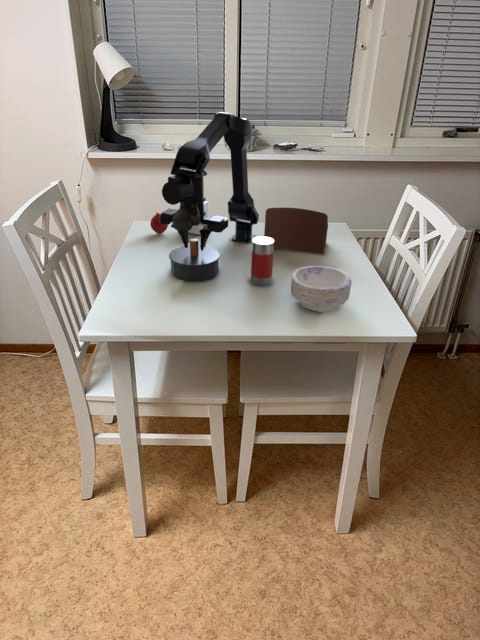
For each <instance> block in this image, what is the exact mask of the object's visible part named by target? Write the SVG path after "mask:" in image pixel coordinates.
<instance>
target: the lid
mask: <svg viewBox="0 0 480 640" xmlns="http://www.w3.org/2000/svg"><path fill="white" fill-rule="evenodd" d="M168 258H169V260H170V262H171V261H172V262H174V263H176V264H179V265H182V266H190V267H198V266H206V265H210V264H212V263H215V262H216V261H218V262H219V259H220V258H221V254H220V251H219V250H217V249H215V248H214V247H211V246H209V245H205V247H204V250H203V251H201V247H200V245H199V239H198V238H195V237H193V238H190V239H189V244H188V247H187V248H185V246H184V245H183V246H178V247H176V248H173V249H171V251H169V253H168Z"/></svg>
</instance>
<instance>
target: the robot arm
mask: <svg viewBox="0 0 480 640" xmlns="http://www.w3.org/2000/svg"><path fill="white" fill-rule="evenodd" d="M252 133H253V124H252V122H251V121H250V120H249V119H248V118H243V117H239V116H236V115H235V114H233V113H232V112H224V111H218V112H215V114H214V116H213V118H212V120H210V122H209V123H208V124H207V126H205V128H204V129H203V130H202V131H201V132H200V133H199V135H197V137H196V138H194V139H192V140H189V141H186V142H185V143H183V145H181V146H180V147H179V148H178V150H177V152H176V155H175V158H174V161H173V164H172V167H171V169H170V176H168V177H167V182H165V183H164V184H163V185H162V189H161V195H162V198H163V200H164V201H165V202H166V203H168V204H169V205H172V206H175V205H177V204H179V208H178V209H175V208H167V209H165V210H164V211H162V212H161V213H160V217H159V220H160V223H161V224H168V226H169V225H170V224H171V225H170V227H171V228H172V229H174V230H175V231H177V233H178V235H179V236H180V239H181V241H182V244H183V246H185V248H187V247H188V245H189V243H190V239H189V238H190V237H189V236H190V235H189V234H190V233H189V230H191V229H192V226H198V225H199V224H201V225H203V228H202V229H201V230H200V231H199V232H200V234H201V235H200V247H201V251H203V250H204V247H205V246H207V242H208V239H209V237H210V235H211V233H223V231H224V230H226V229H227V228H228V227H229V221H230V222H234V223H235V228H234V229H235V230H234V231H235V233H234V236H233V237H232V238H231V241H236V242H240V243H252V239H253V238H255V237H256V235H255V234H253V225H258V223H259V218H260V214H259V213H258V211H257V209H256V207H255V202H254V201H255V200H254V198H253V196H252V195H251V194H250V192H249V177H248V174H249V173H248V158H247V157H248V156H247V155H248V154H247V153H248V151H247V148H248V146H249V144H250V142H251V140H252ZM222 138H223V141H224V143H225V144H226V145H227V147H228V148H229V150H230V166H231V178H232V179H231V180H232V181H231V183H232V195H231V197H230V199H229V200H228V202H227V213H228V217H229V218H228V217H227V216H223V215H213V216H212V217H211V218H209V219H208V218H204V216H205V215H206V212H205V211H204V201H207V199H206V196H205V195H204V192H205V191H204V185H205V184H204V183H205V182H204V177H206V176H208V172H207V171H206V170H205V169H206V167H207V165H208V164H209V162H210V161H211V154H210V153H211V152H212V151H213V149H214V148H215V147H216V146H217V145H218V143H220V141H221V140H222Z"/></svg>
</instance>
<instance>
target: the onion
mask: <svg viewBox="0 0 480 640" xmlns="http://www.w3.org/2000/svg"><path fill="white" fill-rule="evenodd" d="M160 214H161V213H160V212H159V211H156V213H155V215H153V217H152V218H151V219H150V222H149V223H150V225H149V226H150V228H151V230H152V231H153V232H155V233H156V234H157V235H162V234H163V233H165V232H166V231H167V229H168V227H169V225H168V224H161V223H160V220H159V217H160Z"/></svg>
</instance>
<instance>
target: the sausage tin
mask: <svg viewBox="0 0 480 640" xmlns="http://www.w3.org/2000/svg"><path fill="white" fill-rule="evenodd" d="M274 256H275V248H274V240H273V239H272V238H269V237H264V236H255V237H254V238H253V239H252V241H251V256H250V283H251V285H253V286H256V287H267V286H270V285H271V284H272V281H273V271H274V270H273V269H274Z"/></svg>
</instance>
